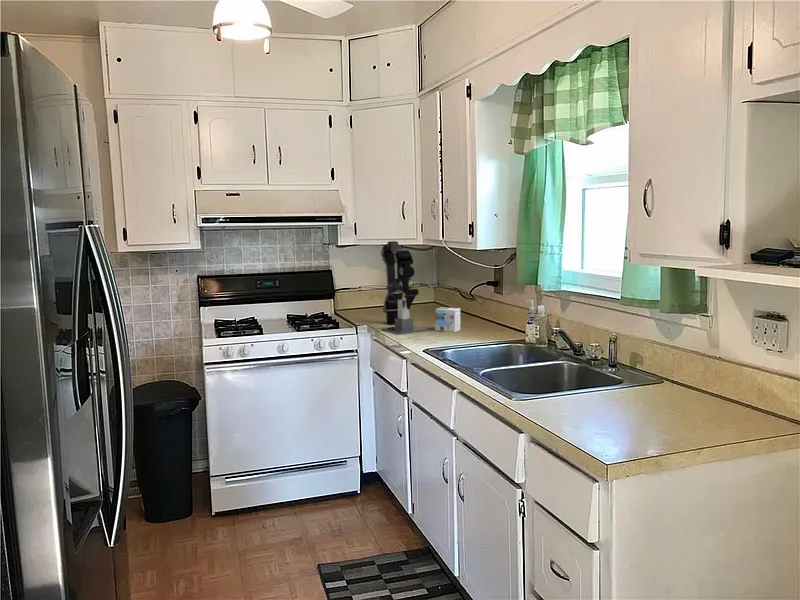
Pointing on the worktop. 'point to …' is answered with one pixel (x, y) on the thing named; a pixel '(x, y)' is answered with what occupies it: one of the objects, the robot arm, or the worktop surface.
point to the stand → (403, 327)
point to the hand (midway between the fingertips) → (403, 308)
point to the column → (403, 310)
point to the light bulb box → (447, 319)
